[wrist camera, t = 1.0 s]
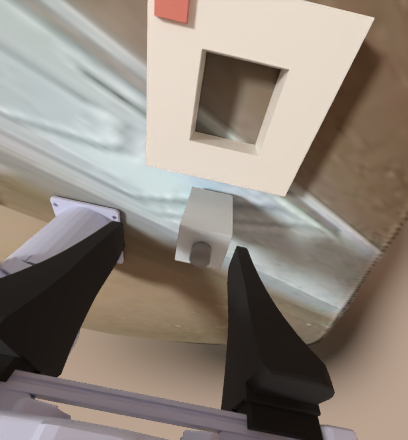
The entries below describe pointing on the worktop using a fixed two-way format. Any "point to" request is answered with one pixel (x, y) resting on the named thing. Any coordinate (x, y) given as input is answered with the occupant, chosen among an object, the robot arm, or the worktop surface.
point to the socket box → (256, 53)
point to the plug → (205, 229)
